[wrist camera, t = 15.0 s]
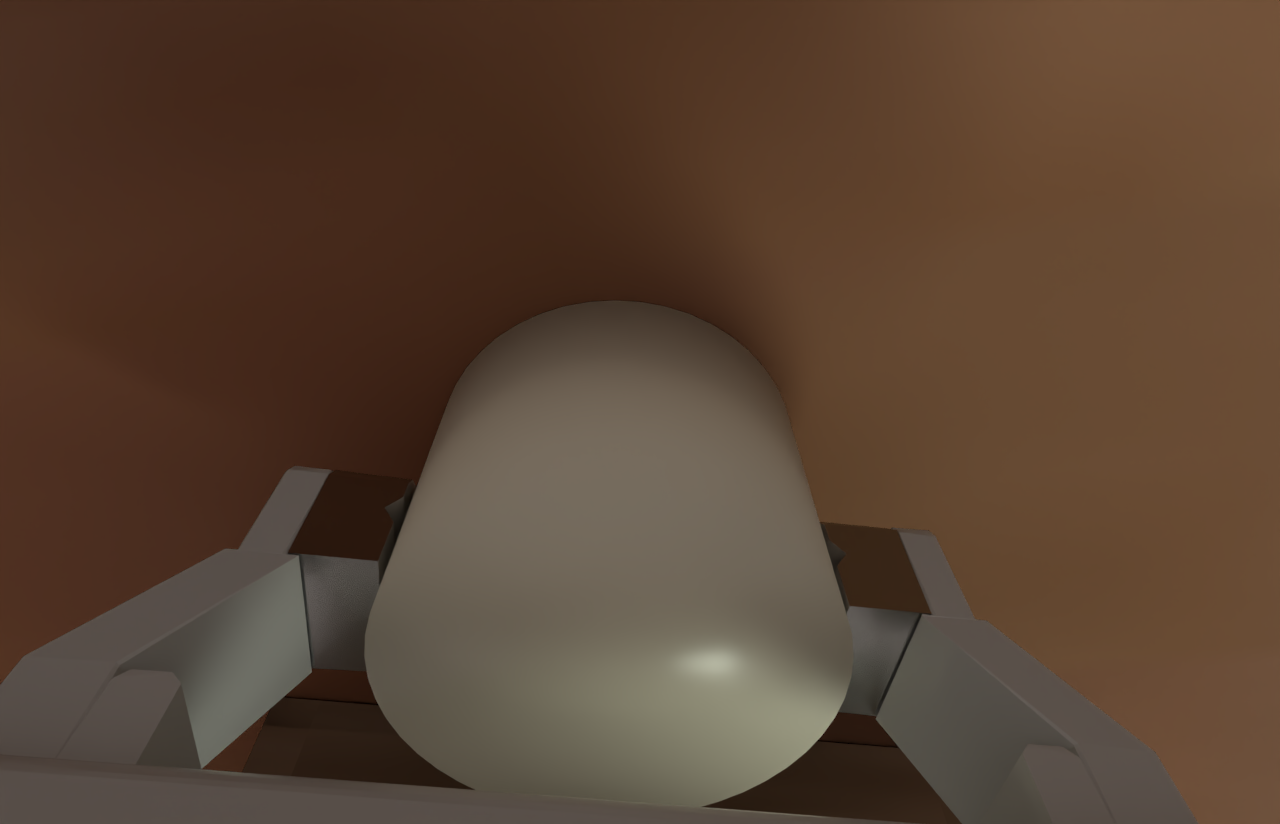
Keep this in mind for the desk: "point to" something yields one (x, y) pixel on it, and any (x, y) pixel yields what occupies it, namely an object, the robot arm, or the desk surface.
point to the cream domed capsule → (611, 570)
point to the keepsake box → (812, 785)
